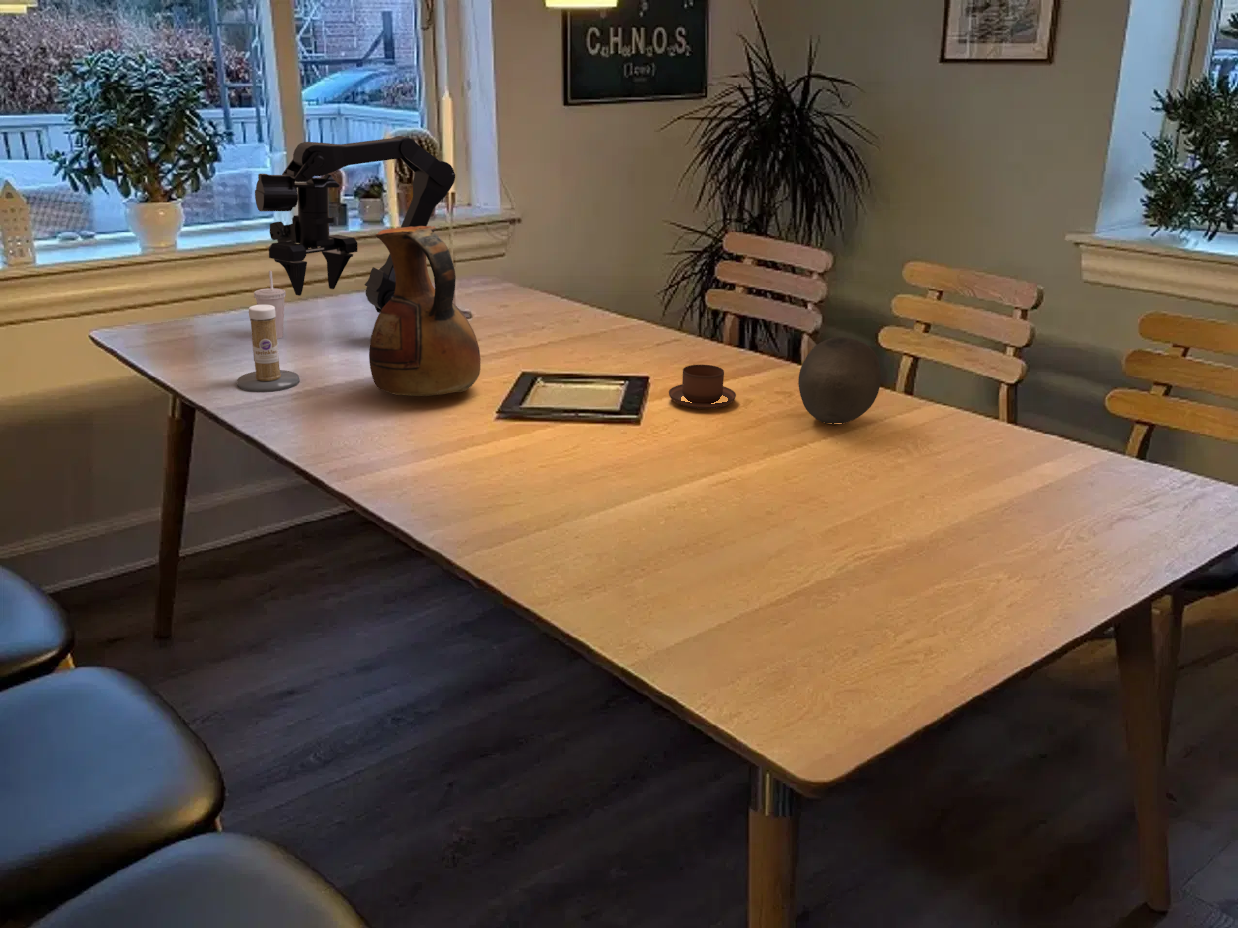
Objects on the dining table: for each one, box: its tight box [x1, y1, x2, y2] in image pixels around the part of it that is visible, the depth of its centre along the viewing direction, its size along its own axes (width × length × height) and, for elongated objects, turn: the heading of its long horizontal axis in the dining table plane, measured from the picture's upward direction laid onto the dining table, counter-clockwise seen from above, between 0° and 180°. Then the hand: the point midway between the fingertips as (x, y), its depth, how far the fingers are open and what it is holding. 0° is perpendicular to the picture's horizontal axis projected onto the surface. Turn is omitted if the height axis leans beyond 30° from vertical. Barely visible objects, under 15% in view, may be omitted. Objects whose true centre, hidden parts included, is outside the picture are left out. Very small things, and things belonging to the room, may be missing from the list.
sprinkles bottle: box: [248, 304, 281, 381], centre depth 203 cm, size 5×5×14 cm
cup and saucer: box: [668, 364, 737, 410], centre depth 199 cm, size 12×12×6 cm
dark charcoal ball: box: [797, 336, 882, 425], centre depth 187 cm, size 14×14×15 cm
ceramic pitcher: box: [368, 225, 481, 397], centre depth 196 cm, size 20×20×30 cm
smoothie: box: [253, 270, 286, 340], centre depth 232 cm, size 6×6×14 cm
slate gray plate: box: [236, 369, 300, 393], centre depth 205 cm, size 11×11×1 cm
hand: (315, 292), depth 218 cm, fingers open, 9 cm apart
